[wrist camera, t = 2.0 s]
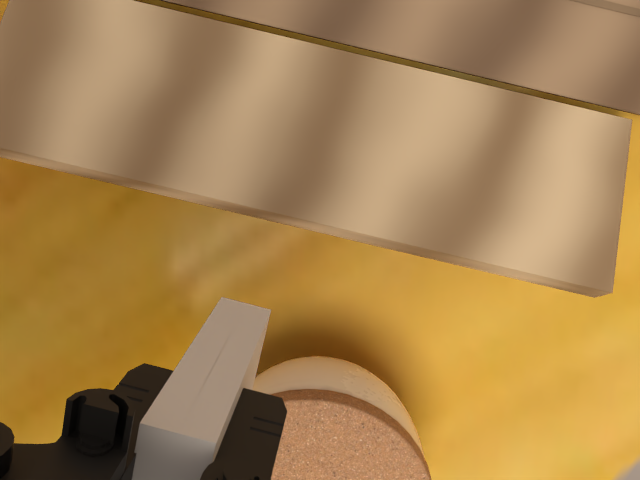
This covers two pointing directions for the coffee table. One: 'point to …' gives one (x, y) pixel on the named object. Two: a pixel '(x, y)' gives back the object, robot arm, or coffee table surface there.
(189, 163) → the plank
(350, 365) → the lidded jar
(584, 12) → the laid board
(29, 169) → the coffee table surface
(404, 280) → the coffee table surface
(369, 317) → the coffee table surface
